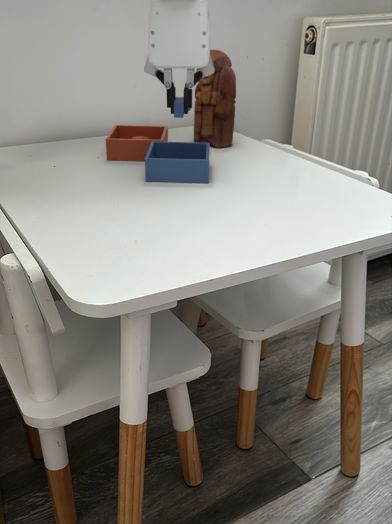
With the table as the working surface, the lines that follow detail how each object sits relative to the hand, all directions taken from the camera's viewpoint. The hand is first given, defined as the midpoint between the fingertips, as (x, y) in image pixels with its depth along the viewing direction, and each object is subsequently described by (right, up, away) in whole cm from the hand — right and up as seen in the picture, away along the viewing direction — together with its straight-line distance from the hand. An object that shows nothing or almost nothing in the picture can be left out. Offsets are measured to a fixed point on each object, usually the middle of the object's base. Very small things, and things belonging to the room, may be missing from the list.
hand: (179, 111), depth 98 cm
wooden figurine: (+6, +4, +25) cm, 26 cm away
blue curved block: (0, 0, +1) cm, 1 cm away
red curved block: (-9, -1, +17) cm, 19 cm away
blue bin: (0, -9, +6) cm, 11 cm away
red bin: (-9, -1, +17) cm, 19 cm away
